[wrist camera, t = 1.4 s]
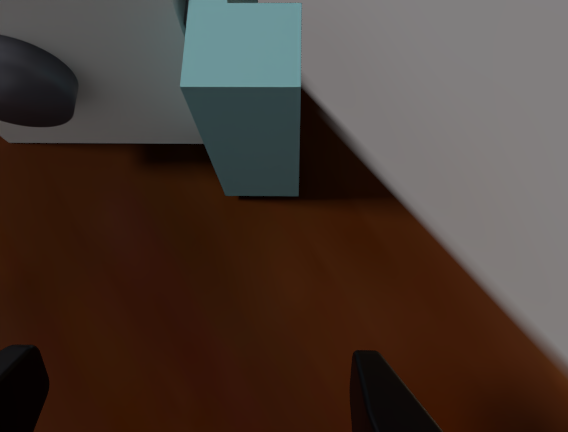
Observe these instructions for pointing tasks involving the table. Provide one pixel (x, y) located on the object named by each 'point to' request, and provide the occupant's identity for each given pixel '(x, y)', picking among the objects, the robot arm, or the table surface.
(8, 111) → the camera body
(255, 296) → the table surface
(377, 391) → the robot arm
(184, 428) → the table surface
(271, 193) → the side door
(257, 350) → the table surface
